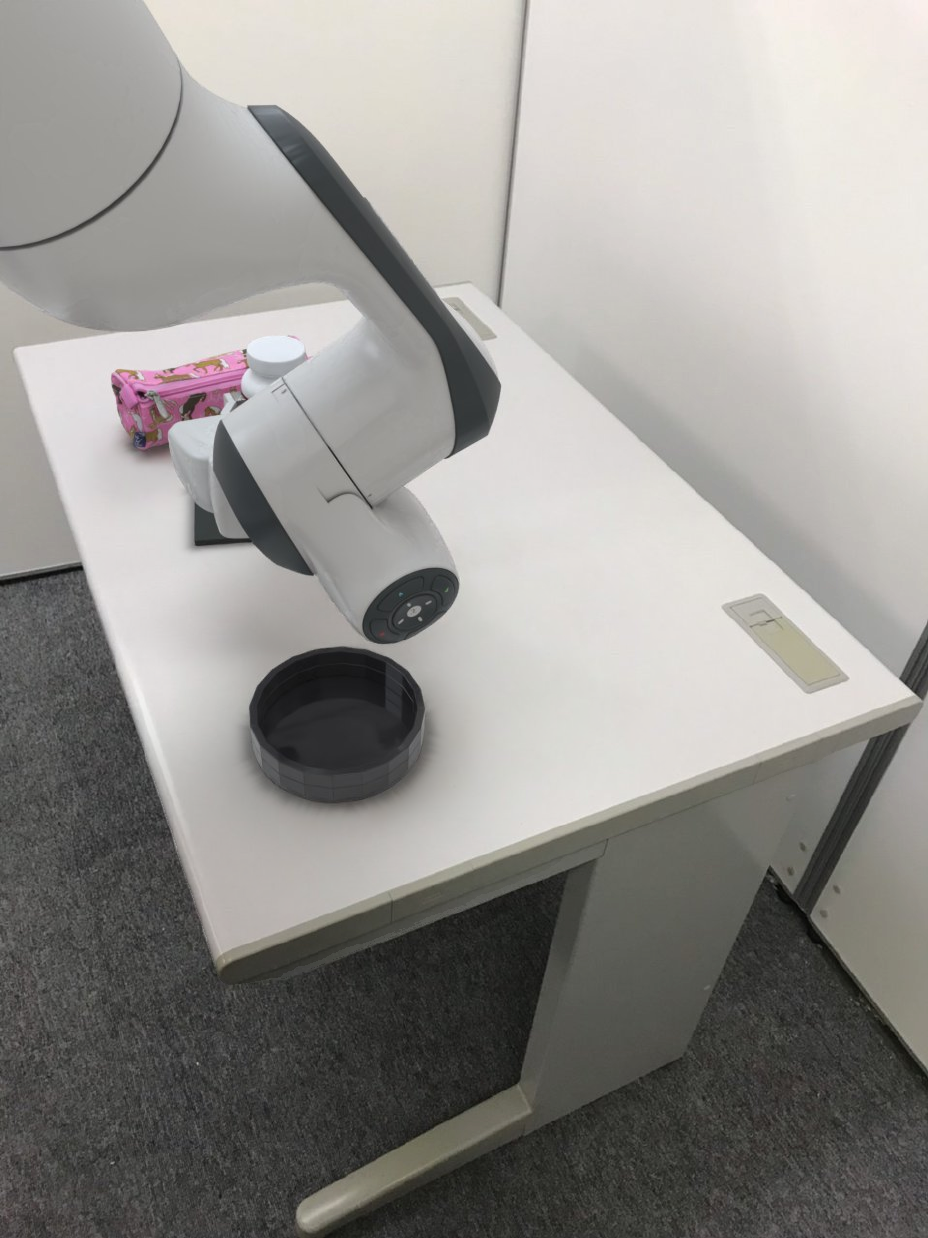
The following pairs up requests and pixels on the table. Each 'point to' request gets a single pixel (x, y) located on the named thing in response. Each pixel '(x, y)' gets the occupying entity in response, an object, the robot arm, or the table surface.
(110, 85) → the robot arm
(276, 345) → the pill bottle
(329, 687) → the pan
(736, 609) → the table surface
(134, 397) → the pencil case
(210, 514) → the mat
